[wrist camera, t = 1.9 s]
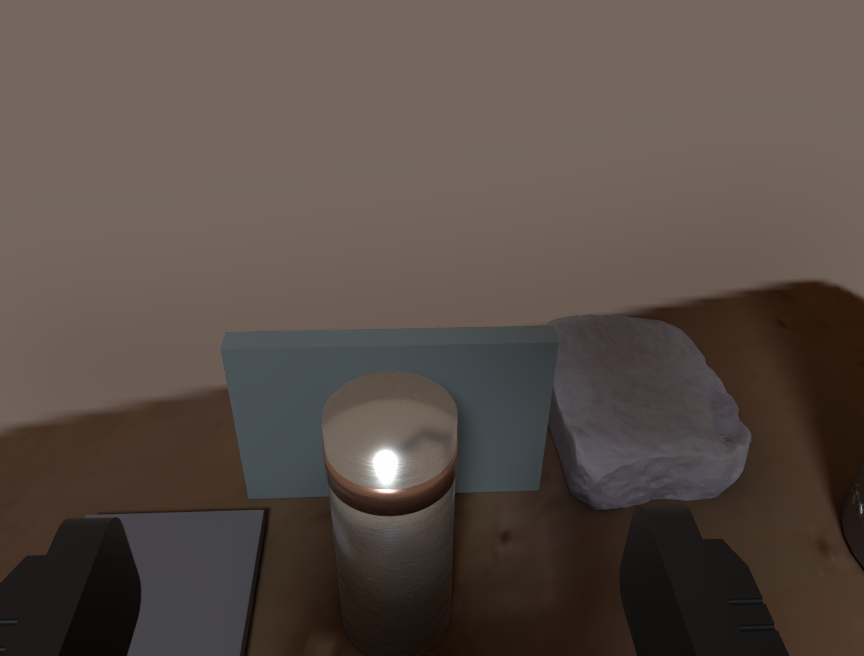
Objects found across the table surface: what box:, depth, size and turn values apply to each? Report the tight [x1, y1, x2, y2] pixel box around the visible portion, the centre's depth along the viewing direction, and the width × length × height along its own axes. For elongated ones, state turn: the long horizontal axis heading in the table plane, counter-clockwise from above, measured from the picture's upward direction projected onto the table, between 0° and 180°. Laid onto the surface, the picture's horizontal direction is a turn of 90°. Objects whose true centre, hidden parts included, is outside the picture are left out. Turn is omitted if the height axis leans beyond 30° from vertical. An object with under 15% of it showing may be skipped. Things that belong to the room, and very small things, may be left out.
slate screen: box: [221, 326, 559, 499], centre depth 35 cm, size 14×1×9 cm, turn 93°
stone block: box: [542, 314, 751, 511], centre depth 41 cm, size 12×5×10 cm
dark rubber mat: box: [85, 510, 266, 656], centre depth 32 cm, size 8×8×1 cm
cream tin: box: [322, 371, 458, 656], centre depth 29 cm, size 5×5×11 cm
